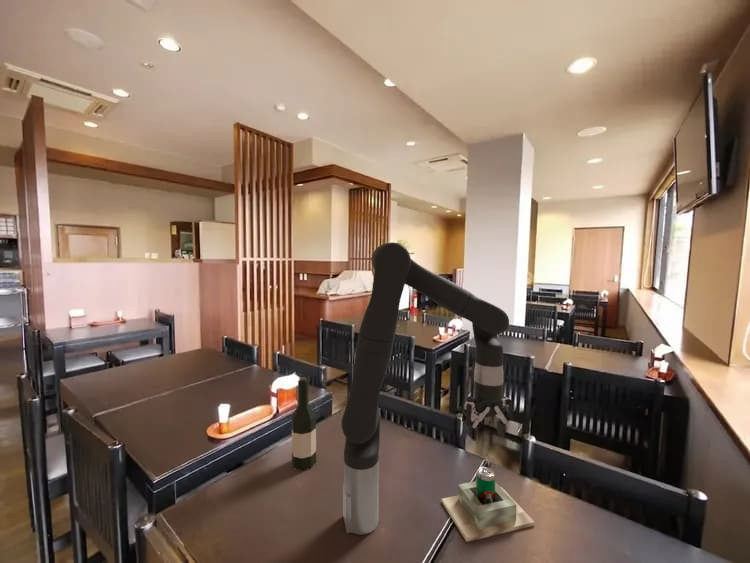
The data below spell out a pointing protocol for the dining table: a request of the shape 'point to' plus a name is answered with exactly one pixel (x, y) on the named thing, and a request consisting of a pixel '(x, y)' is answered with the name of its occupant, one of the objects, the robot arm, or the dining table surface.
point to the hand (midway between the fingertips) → (487, 437)
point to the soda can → (485, 485)
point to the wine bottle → (303, 430)
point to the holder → (485, 513)
